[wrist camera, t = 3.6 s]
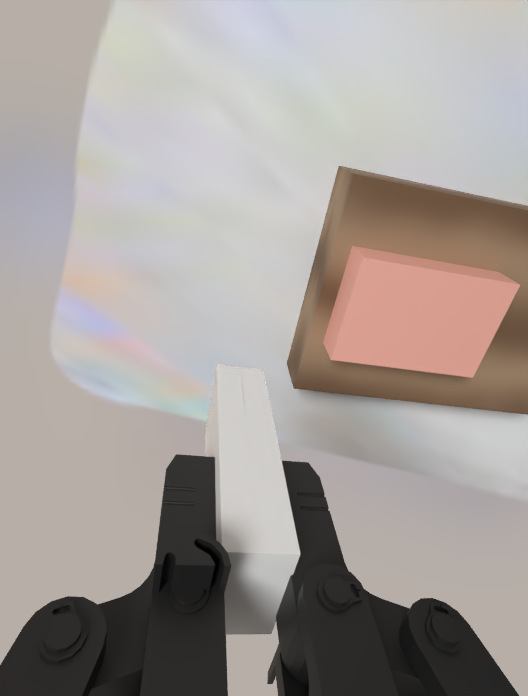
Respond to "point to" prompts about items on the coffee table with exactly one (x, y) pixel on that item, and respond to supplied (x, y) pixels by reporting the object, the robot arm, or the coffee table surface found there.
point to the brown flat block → (428, 243)
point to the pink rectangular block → (416, 313)
